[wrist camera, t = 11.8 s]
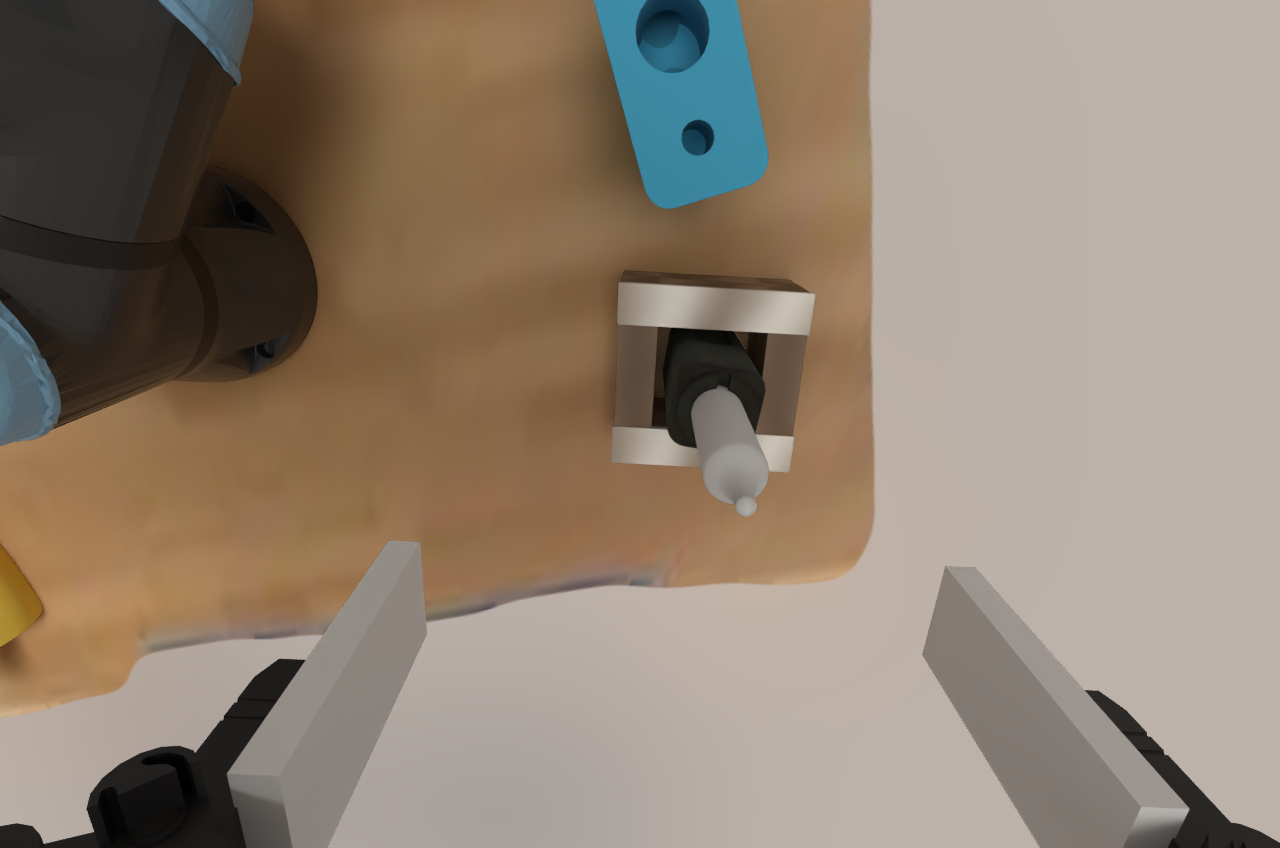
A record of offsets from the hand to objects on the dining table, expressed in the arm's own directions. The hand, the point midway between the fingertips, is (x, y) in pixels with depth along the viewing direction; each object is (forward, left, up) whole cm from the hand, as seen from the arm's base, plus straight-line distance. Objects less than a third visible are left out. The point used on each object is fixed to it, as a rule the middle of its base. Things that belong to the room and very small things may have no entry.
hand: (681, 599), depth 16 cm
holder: (+3, -2, -34) cm, 34 cm away
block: (-1, +15, -34) cm, 37 cm away
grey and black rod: (+3, -2, -34) cm, 34 cm away
